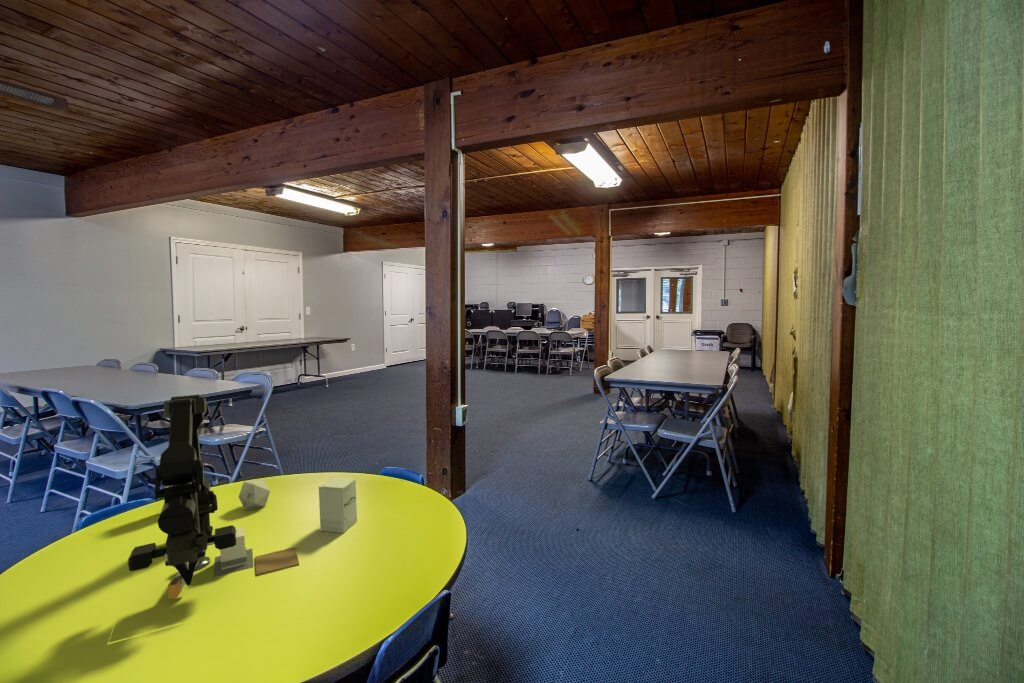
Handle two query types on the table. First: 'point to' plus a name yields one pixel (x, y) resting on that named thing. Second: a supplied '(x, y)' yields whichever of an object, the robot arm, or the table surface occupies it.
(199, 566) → the clip base
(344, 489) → the supplement box
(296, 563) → the walnut pad
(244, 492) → the die
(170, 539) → the robot arm
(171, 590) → the bar
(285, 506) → the table surface
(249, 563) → the socket plate
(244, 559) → the beige tall block
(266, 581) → the table surface
